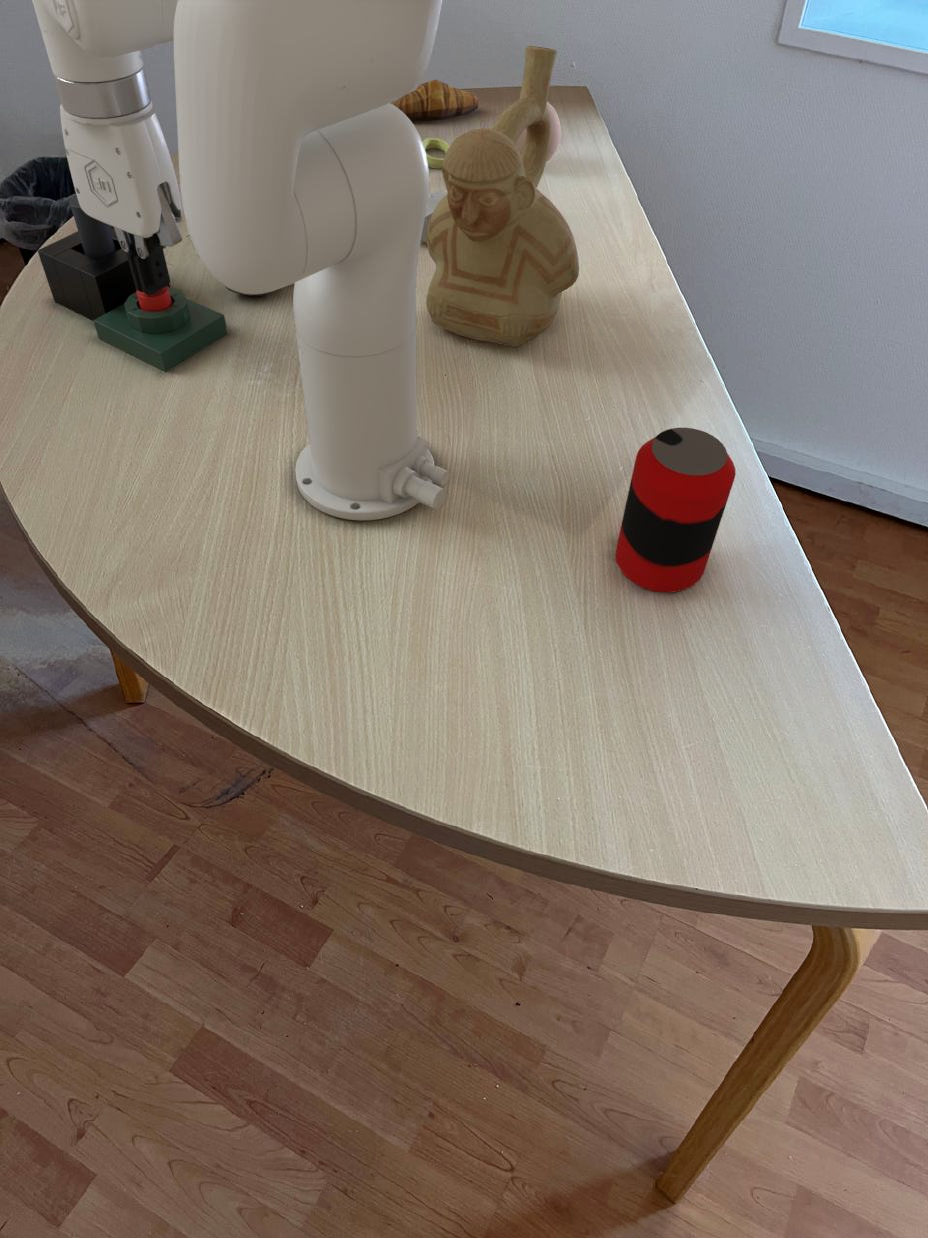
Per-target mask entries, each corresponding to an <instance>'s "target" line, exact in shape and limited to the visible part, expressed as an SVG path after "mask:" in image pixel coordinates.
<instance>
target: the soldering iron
mask: <svg viewBox="0 0 928 1238" xmlns="http://www.w3.org/2000/svg"><path fill="white" fill-rule="evenodd" d="M69 205H70V209H71V212H72V215H73V219H74V222H75V225H76V229H77V231H78V233H79V236H80V239H81V243H82V246H83V249H84V253H85V255H86V256H88V257H90V258H92V259H95V260H97V261H98V260H100V259H102V258H104V257H106V256H108V255H110V254H112V253H114V252H116V249H115V245H114V242H113V238H112V234H111V230H110V227H109V225H108V224H106V223H104V222H101V221H99V220H97V219H94V218H92V217H90V216H89V215H87V214H86V213H85V212H84V211H83V210H82V209H81V207H80V204H79V201H78V198H77V195H75V196H73V197H72V198H71V199H70V201H69Z"/></svg>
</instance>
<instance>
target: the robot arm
mask: <svg viewBox="0 0 928 1238" xmlns="http://www.w3.org/2000/svg"><path fill="white" fill-rule="evenodd" d="M31 2H32V5H33V8H34V12H35V15H36V18H37V19H36V20H37V22H38V26H39V29H40V33H41V36H42V39H43V43H44V46H45V50H46V54H47V56H48V61H49V64H50V67H51V71H52V75H53V79H54V82H55V85H56V86H55V87H56V89H57V93H58V97H59V100H60V105H59V114H60V123H61V124H60V125H61V132H62V138H63V144H64V149H65V154H66V158H67V163H68V168H69V172H70V175H71V179H72V183H73V187H74V192H75V194H76V195H75V196H77V198H78V201H79V204H80V207H81V209H82V210H83V211H84V212H85V213H86V214H87V215H89V216H90V217H92V218H94V219H97V220H99V221H101V222H104V223H106V224H108V225H110V226H111V227H112V228H113V229H114V231H115V232H116V235H117V238H118V240H119V243H120V246H121V248H122V249H123V250H124V251H125V252H128V251H129V253H128V254H127V258H128V261H129V265H130V269H131V273H132V276H133V280H134V284H135V287H136V290H138V291H140V292H144V293H145V294H147V295H151V294H153V293H155V292H157V291H159V290H160V289H162V288H164V287H166V286H168V285H169V284H170V285H171V277H170V274H169V268H168V264H167V261H166V257H165V256H166V255H165V253H164V250H165V249H166V248H167V247H169V248H170V247H173V246H175V245H178V244H179V243H181V242H182V241H183V238H182V234H181V231H180V229H179V226H178V224H179V223H181V222H182V221H183V218H184V220H185V224H186V229H187V231H188V235H189V237H190V240H191V243H192V245H193V247H194V250H195V252H196V254H197V256H198V258H199V260H200V261H201V263H202V265H203V266H204V268H205V269H206V270H207V272H209V274H210V276H212V277H213V278H214V279H215V280H216V281H217V282H219V284H221V285H222V286H224V287H225V286H226V287H227V288H229V289H231V290H233V291H236V292H239V293H243V294H242V295H244V294H264V293H268V292H270V293H272V292H275V291H277V290H280V289H283V288H286V287H288V286H290V285H293V284H294V286H293V293H292V294H293V295H292V296H293V297H292V309H293V310H292V311H293V319H294V320H293V321H294V328H295V336H296V344H297V352H298V360H299V368H300V376H301V385H302V393H303V394H302V395H303V401H304V411H305V417H306V418H305V419H306V427H307V434H308V441H309V442H308V444H306V445H305V446H304V448H303V449H302V450H301V452H300V453H299V455H298V458H297V459H296V461H295V462H296V463H295V469H294V473H295V480H296V485H297V488H298V491H299V492H300V494H301V496H302V497H303V498H304V499H305V501H307V503H309V504H310V505H311V506H312V507H313V508H315V509H317V510H319V512H322V513H325V514H326V515H330V516H332V517H336V518H340V519H344V520H350V521H377V520H382V519H383V520H384V519H388V518H390V517H394V516H397V515H401V514H402V513H404V512H407V511H409V510H410V509H411V508H413V507H415V506H416V505H418V504H419V503H421V504H423V505H425V506H426V507H429V508H430V509H433V510H434V511H435V510H436V511H437V510H439V509H440V508H441V507H442V506H443V505H444V503H445V501H446V497H447V490H446V489H445V488H443V487H441V486H446V484H448V482H449V480H450V477H451V472H450V471H448V470H446V469H444V468H442V467H440V466H437V465H435V461H434V457H433V455H432V452H431V450H430V449H429V448H428V441H427V440H426V439H424V438H422V437H420V436H418V398H417V397H418V396H417V395H418V394H417V391H418V390H417V384H418V383H417V275H418V264H419V263H418V261H419V253H420V247H421V241H422V240H421V236H422V231H423V226H424V221H425V215H426V209H427V203H428V197H429V191H430V171H429V169H430V168H429V166H428V162H427V156H426V153H427V151H426V150H425V149H424V145H423V142H422V141H423V140H422V138H421V136H420V133H419V131H418V130H417V127H416V126H415V125H414V123H413V122H412V120H410V119H409V118H408V117H407V116H406V115H405V114H404V113H403V112H402V111H401V110H400V109H398V108H397V107H396V106H394V104H392V103H393V102H395V101H398V100H400V99H401V98H402V97H404V96H406V95H407V94H409V93H410V92H412V91H414V89H416V87H418V85H420V82H421V81H422V79H423V77H424V76H425V74H426V72H427V69H428V67H429V65H430V60H431V57H432V53H433V51H434V45H435V41H436V36H437V33H438V32H437V31H438V27H439V22H440V17H441V12H442V6H443V0H31ZM168 42H169V43H170V42H173V65H174V66H173V68H174V85H175V86H174V88H175V89H174V90H175V106H176V107H175V109H176V124H177V125H176V127H177V128H176V129H177V150H178V151H177V152H178V171H179V172H178V173H179V184H178V179H177V176H176V172H175V168H174V165H173V161H172V158H171V153H170V151H169V148H168V145H167V141H166V138H165V136H164V132H163V130H162V127H161V124H160V121H159V118H158V116H157V113H156V111H155V110H153V102H152V96H151V93H150V87H149V83H148V78H147V74H146V68H145V65H144V61H143V56H142V52H141V51H143V50H146V49H151V48H153V47H155V46H157V45H162V44H165V43H168ZM425 151H426V152H425ZM179 185H180V187H179ZM179 188H180V189H179ZM183 215H184V217H183ZM226 287H225V288H226ZM227 288H226V289H227ZM434 483H436V484H434ZM437 484H438V485H440V486H438V485H437Z"/></svg>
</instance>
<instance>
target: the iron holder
mask: <svg viewBox="0 0 928 1238" xmlns="http://www.w3.org/2000/svg"><path fill="white" fill-rule="evenodd" d="M109 227H110V230H111V234H112V238H113V242H114V245H115V249H116V252H114V253H112V254H110V255H108V256H106V257H104V258H102V259H100V260H98V261H97V260H95V259H92V258H90V257H88V256H86V255H85V253H84V249H83V246H82V243H81V239H80V236H79V233H78V230H77V231H76V232H75V231H74V232H73V233H71V234H69V235H66V236H65V237H63V238H60V239H59V240H57V241H55V242H52V243H50V244H48V245H46V246H44V247H42V248H39V249H38V250H37V252H38V257H39V260H40V262H41V265H42V268H43V271H44V274H45V277H46V280H47V284H48V286H49V288H50V289H49V290H50V293H51V295H52V298H53V302H54V303H56V304H58V305H60V306H62V307H64V308H66V309H69V310H70V311H73V312H75V313H76V314H79V315H81V316H83V317H85V318H86V319H89V320H91V321H92V322H94V320H95V319H97V318H99V317H101V316H102V315H104V314H106V313H108V312H110V311H112V310H113V309H115V308H117V307H119V306H121V305H122V304H124V303H125V302H126V300H127V299H128V297H129V296H130V295H132V294H134V293H135V292H136V291H137V290H136V287H135V284H134V280H133V276H132V273H131V269H130V265H129V261H128V258H127V254H128V253H129V251H128V252H125V251H124V250H123V249H122V248H121V246H120V243H119V240H118V238H117V235H116V232H115V231H114V229H113V228H112V227H111V226H110V225H109ZM168 287H171V283H170V284H169V285H168Z"/></svg>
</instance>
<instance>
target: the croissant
mask: <svg viewBox="0 0 928 1238" xmlns="http://www.w3.org/2000/svg"><path fill="white" fill-rule="evenodd" d="M418 85H419V86H417V88H415V90H414V89H413V90H411V91H410V92H409V93H407V94H406V95H404V96H403V97H401V98H399V99H398V100H397V102H395V103H394V104H393V105H394V106H396V107H397V108H398V109H400V110H401V111H402V112H403V113H404V114H405V115H406V116H407V117H408V118H409V119H410V120H411V121H420V120H442V119H446V118H450V117H455V116H462V115H465V114H469V113H472V112H475V111H476V110H478V107H479V99H478V97H477V96H476V95H474V94H473V93H471V92H469V91H465V90H463V89H460V88H457V87H454V86H452V85H449V83H445V82H443V81H440V80H438V79H433V80H430V81H427V82H423V83H419V84H418Z"/></svg>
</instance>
